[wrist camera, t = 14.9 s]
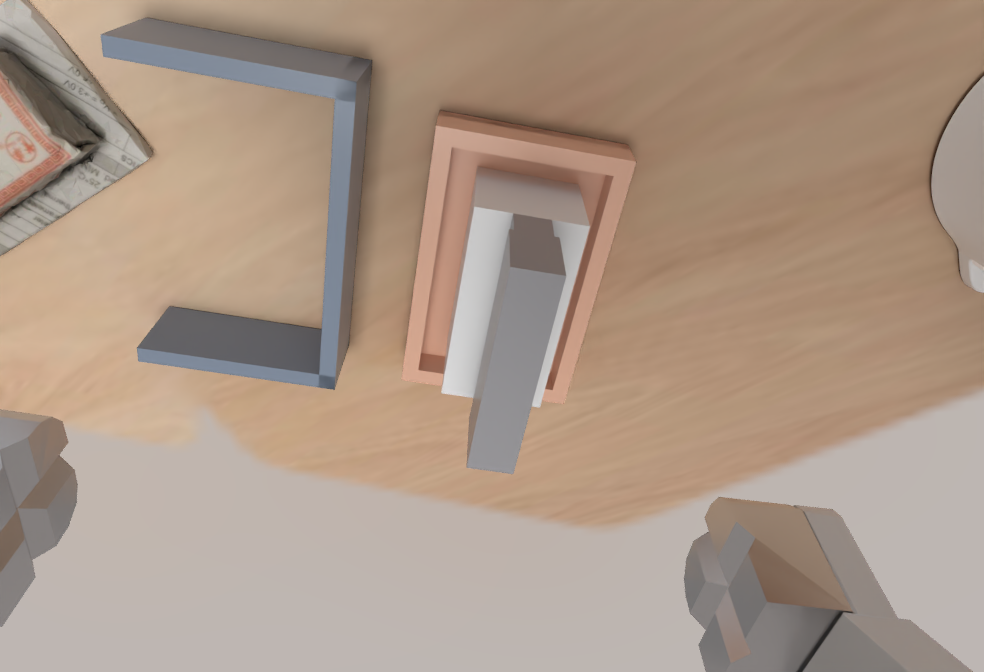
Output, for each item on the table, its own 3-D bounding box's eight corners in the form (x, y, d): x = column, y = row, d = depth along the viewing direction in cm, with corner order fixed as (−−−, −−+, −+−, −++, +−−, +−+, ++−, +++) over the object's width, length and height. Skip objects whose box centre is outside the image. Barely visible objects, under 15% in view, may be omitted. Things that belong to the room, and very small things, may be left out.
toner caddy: (578, 184, 41) (605, 282, 31) (535, 351, 47) (545, 478, 37) (477, 166, 40) (470, 260, 30) (447, 338, 47) (433, 463, 37)
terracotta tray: (627, 144, 40) (636, 161, 38) (560, 377, 50) (563, 404, 47) (439, 110, 40) (436, 125, 37) (406, 354, 49) (401, 380, 46)
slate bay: (372, 60, 38) (356, 81, 34) (348, 345, 48) (334, 389, 44) (145, 17, 37) (100, 34, 33) (170, 318, 47) (138, 361, 43)
